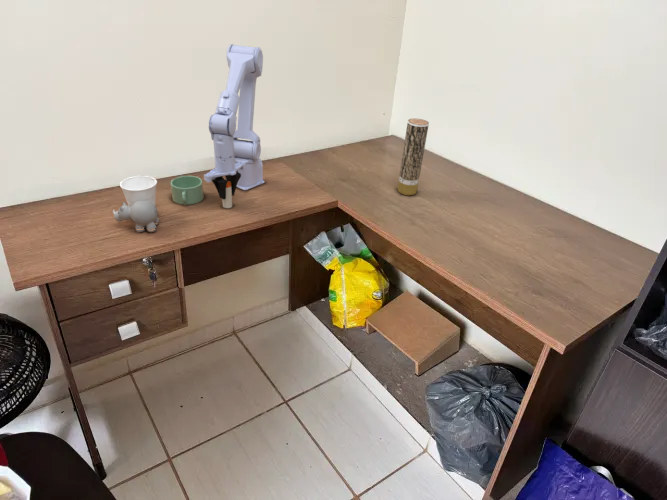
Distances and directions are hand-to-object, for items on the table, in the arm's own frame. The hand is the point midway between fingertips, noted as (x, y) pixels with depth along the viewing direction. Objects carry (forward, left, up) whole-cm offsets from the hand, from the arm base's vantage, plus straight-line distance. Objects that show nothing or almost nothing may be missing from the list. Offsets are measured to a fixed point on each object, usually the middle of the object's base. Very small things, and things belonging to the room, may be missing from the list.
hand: (226, 196), depth 149 cm
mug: (+6, -12, -3) cm, 14 cm away
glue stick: (0, 0, -3) cm, 3 cm away
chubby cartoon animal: (+26, -7, -4) cm, 28 cm away
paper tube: (-51, +35, -4) cm, 62 cm away
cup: (+22, -12, -4) cm, 25 cm away
